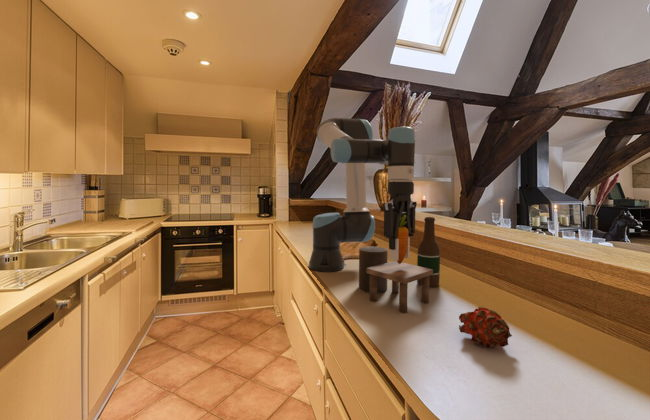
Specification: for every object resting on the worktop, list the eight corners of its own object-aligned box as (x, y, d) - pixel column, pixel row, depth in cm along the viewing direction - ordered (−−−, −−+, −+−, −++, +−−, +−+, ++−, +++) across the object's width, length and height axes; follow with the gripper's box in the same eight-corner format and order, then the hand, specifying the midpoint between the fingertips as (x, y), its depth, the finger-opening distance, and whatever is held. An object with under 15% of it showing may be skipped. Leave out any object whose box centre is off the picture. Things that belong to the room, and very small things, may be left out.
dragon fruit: (509, 366, 61) (460, 346, 72) (528, 334, 64) (478, 320, 75) (489, 337, 60) (442, 321, 70) (509, 305, 63) (462, 295, 74)
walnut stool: (366, 299, 93) (366, 268, 92) (394, 289, 102) (394, 260, 101) (404, 314, 82) (404, 278, 82) (432, 302, 91) (433, 269, 91)
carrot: (387, 262, 93) (388, 214, 91) (401, 261, 95) (401, 213, 93) (397, 266, 88) (398, 215, 87) (411, 265, 90) (412, 215, 89)
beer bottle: (436, 281, 111) (438, 216, 110) (442, 288, 104) (444, 218, 102) (414, 280, 112) (416, 216, 110) (419, 287, 104) (420, 218, 103)
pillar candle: (364, 294, 98) (364, 248, 97) (355, 284, 108) (355, 243, 107) (392, 291, 100) (392, 247, 99) (380, 282, 110) (381, 242, 109)
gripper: (392, 180, 81) (390, 266, 83) (428, 181, 92) (426, 256, 94) (370, 181, 87) (370, 261, 89) (407, 181, 98) (406, 252, 100)
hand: (399, 258), depth 91 cm, fingers closed on carrot, 5 cm apart
